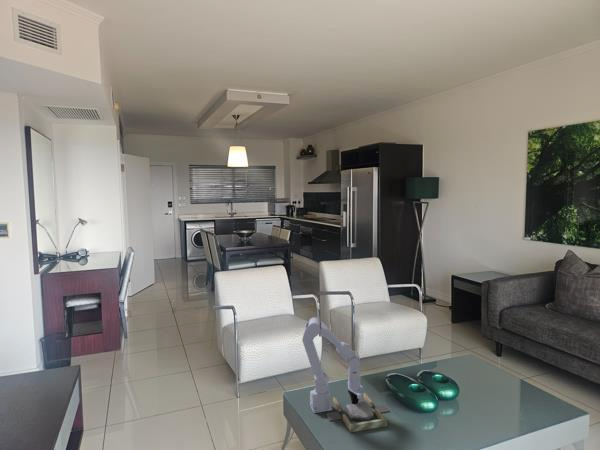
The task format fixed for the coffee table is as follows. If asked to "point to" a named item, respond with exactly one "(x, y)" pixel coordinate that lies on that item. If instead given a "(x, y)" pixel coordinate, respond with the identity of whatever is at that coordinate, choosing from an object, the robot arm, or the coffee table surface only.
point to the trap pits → (336, 416)
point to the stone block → (359, 411)
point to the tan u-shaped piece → (363, 425)
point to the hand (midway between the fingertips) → (354, 405)
